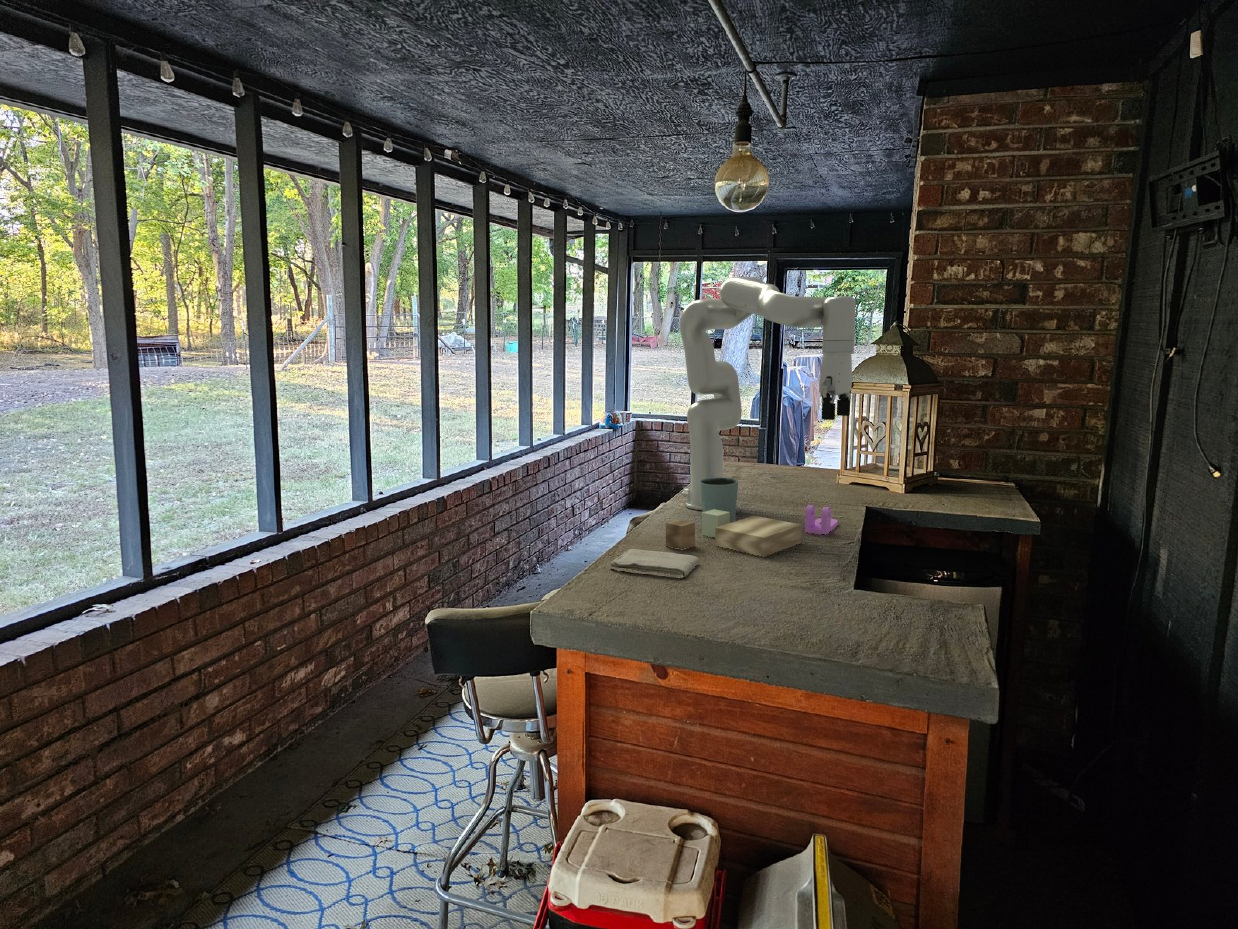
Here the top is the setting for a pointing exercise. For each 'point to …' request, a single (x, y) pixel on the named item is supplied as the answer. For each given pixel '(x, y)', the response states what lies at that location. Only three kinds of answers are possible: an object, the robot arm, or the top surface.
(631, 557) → the washcloth
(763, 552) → the birch block
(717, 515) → the sage cube
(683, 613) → the top surface
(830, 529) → the bracket
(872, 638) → the top surface
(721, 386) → the robot arm
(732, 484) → the teal cylinder
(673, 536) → the walnut cube
